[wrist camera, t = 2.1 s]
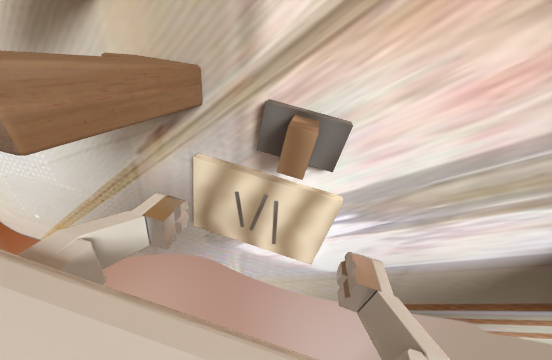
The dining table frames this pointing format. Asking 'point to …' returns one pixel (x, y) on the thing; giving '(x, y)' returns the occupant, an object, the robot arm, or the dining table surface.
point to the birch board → (261, 208)
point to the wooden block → (86, 96)
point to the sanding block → (301, 138)
